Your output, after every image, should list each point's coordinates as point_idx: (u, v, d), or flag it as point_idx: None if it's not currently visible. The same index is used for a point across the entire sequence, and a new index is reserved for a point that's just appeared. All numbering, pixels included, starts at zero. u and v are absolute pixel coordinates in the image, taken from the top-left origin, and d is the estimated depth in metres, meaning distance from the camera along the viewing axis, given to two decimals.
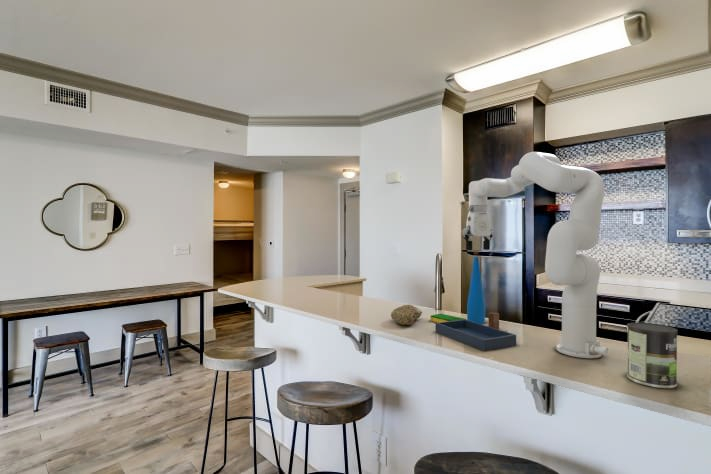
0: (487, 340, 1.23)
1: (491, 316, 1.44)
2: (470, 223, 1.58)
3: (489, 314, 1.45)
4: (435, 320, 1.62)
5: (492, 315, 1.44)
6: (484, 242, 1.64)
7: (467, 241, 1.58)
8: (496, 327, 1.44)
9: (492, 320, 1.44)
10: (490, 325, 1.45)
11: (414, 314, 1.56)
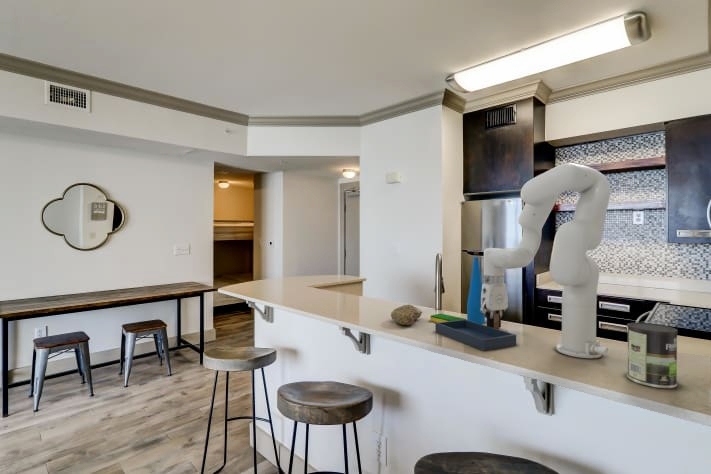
0: (487, 340, 1.23)
1: None
2: (485, 296, 1.42)
3: None
4: (435, 320, 1.62)
5: None
6: None
7: (488, 318, 1.44)
8: (496, 327, 1.44)
9: None
10: None
11: (414, 314, 1.56)
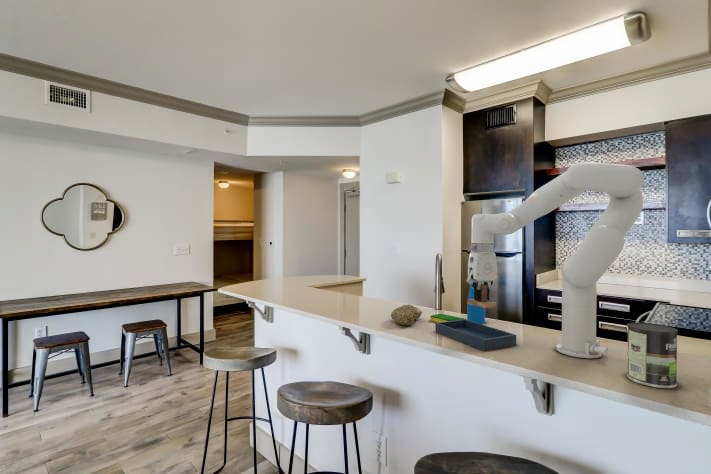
0: (487, 340, 1.23)
1: None
2: (473, 265, 1.31)
3: None
4: (435, 320, 1.62)
5: None
6: None
7: (475, 290, 1.33)
8: (484, 299, 1.33)
9: None
10: None
11: (414, 314, 1.56)
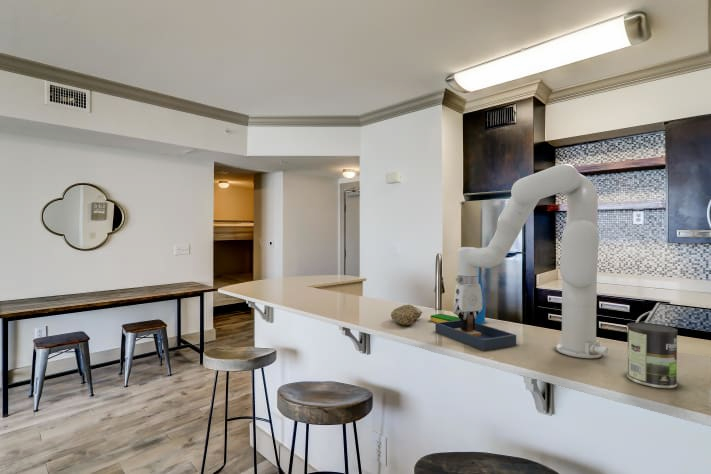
0: (487, 340, 1.23)
1: None
2: (458, 297, 1.37)
3: None
4: (435, 320, 1.62)
5: None
6: None
7: (462, 320, 1.38)
8: (470, 329, 1.38)
9: None
10: None
11: (414, 314, 1.56)
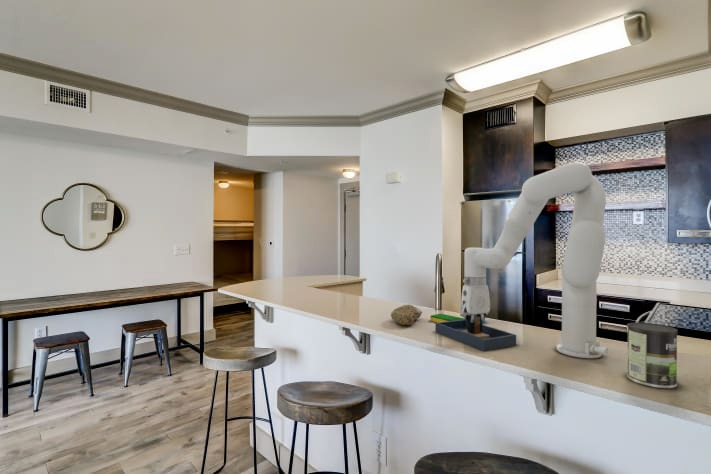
0: (487, 340, 1.23)
1: None
2: (466, 298, 1.33)
3: None
4: (435, 320, 1.62)
5: None
6: None
7: (469, 322, 1.35)
8: (477, 331, 1.35)
9: None
10: None
11: (414, 314, 1.56)
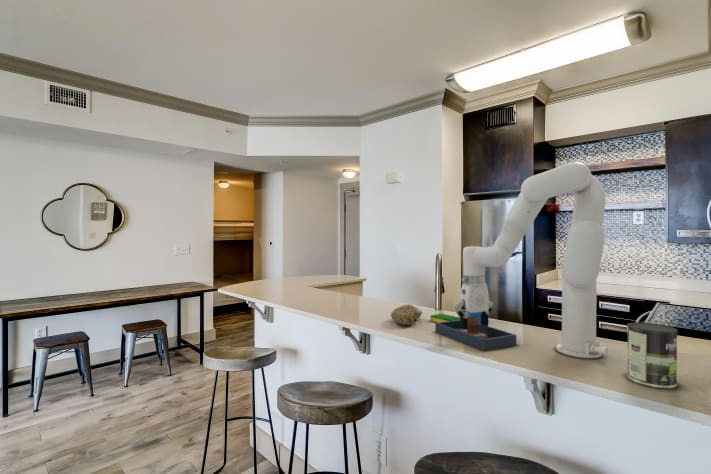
0: (487, 340, 1.23)
1: (470, 319, 1.36)
2: (465, 297, 1.34)
3: (468, 317, 1.37)
4: (435, 320, 1.62)
5: (471, 318, 1.36)
6: (482, 316, 1.39)
7: (462, 318, 1.34)
8: (475, 331, 1.36)
9: (471, 323, 1.36)
10: (469, 329, 1.37)
11: (414, 314, 1.56)
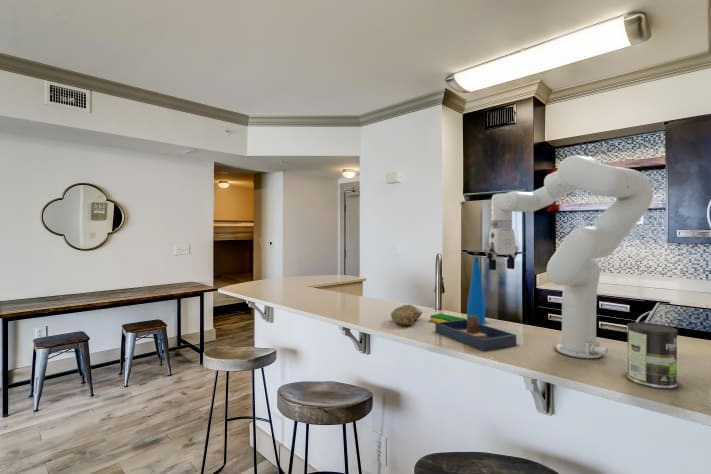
0: (487, 340, 1.23)
1: (470, 319, 1.36)
2: (493, 240, 1.44)
3: (468, 317, 1.37)
4: (435, 320, 1.62)
5: (471, 318, 1.36)
6: (508, 260, 1.49)
7: (490, 260, 1.44)
8: (475, 331, 1.36)
9: (471, 323, 1.36)
10: (469, 329, 1.37)
11: (414, 314, 1.56)
